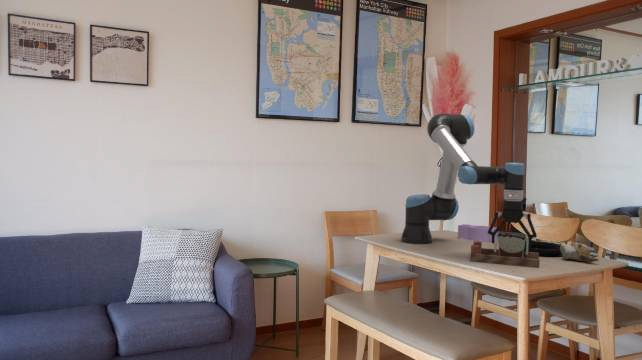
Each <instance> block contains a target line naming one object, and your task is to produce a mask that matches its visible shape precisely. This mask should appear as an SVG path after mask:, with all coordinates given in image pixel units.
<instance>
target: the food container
mask: <svg viewBox="0 0 642 360" xmlns="http://www.w3.org/2000/svg"><path fill="white" fill-rule="evenodd" d="M497 237H498V241H497V243H498V250H499V256H506V257H517V258H523V255H524V249H525V242H526V241H528V240H527V238H528V236H527V234H526V233H521V232H513V231H499V232H498V234H497Z"/></svg>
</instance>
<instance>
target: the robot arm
mask: <svg viewBox="0 0 642 360" xmlns="http://www.w3.org/2000/svg"><path fill="white" fill-rule="evenodd" d="M426 130H427V133H428V136H429V138H430V139H431V141H432V142H433V143H435V144H437V145H438V146H439V147H440V148H441V151H442V156H441V162H440V167H439V173H438V179H437V183H436V189H435V190H433V191H432V194H431V195H430V194H423V193H422V194H414V195H413V194H412V195H410V196H407V198H406V200H405V223H404V224H405V226H404V229H403V231H402V233H401V238H400V240H401V242H403V243H407V244H415V245H417V244H418V245H419V244H420V245H422V244H423V245H424V244H432V242H433V236H432V233H431V230H430V221H449V220H453V219H454V218H455V217H457V214H458V213H459V207H460V206H459V201H458V199H457V198H456V197H457V196H456V194H455V192H454V191H455V187H456V186H455V185H456V182H457V178H458V181H459V183H461V184H464V185H503V186H504V187H503V205H502V211H498V210H497V211H495V212H494V218H493V220H492V222H491V224H490V225H489V226H490V228H489V230H488V232H487V233H488V234H490V235H492V242H491V243H492V244H493V245H494V246H493V249H494V252H496V249H497V243H498V241H497V235H495V234H496V233H497V232H498V231H499V232H500V230H501V229H502V228H503V226H504V225H505V224H506V223H508V224H511V223H512V224H513V223H514V224H517V223H518V224H519V226H520V227H521V228H522V230H523V232H524V234H526V236H527V240H528V241H527V243H526V255H528V246H531V245H532V241H533V239H534V238H537V236H538V235H537V232H536V229H535V227H534V224H533V221H532V219H531V213H524V212H523V209H524V208H523V207H524V206H523V205H524V202H523V200H524V191H525V190H524V185H525V174H526V173H525V164H524V163H522V162H506V163H505V164H504V166H495V165H494V166H479V165H477V163H476V162H475V161H474V159H473V158H472V157H471V155H469V154H468V152H467V151H466V150H465V148H463V147H465V146H466V145H467V143H468V142H467V141H468V140H470V139H472V137H473V136H474V135H475V134H474V133H475V124H474V121H473V119H472V117H470V116H469V115H465V114H460V113H459V114H457V113H437V114H435V115H433V116H432V117H431V118H430V119H429V121H428V123H427V128H426ZM501 216H502V217H503V220H502V221H501V222H500V223H499V225H498V226H497V227H494V226H495V224H496V223H497V220H498V218H500V217H501ZM522 218H525V220H527V223H528V226H529V228H530V230H528V228H527V227H526V225H525V224H524V222H523V221H522ZM493 227H494V228H496V229H495V230H494V232H492V229H493ZM529 231H531V233H532V234H531V233H530V232H529Z"/></svg>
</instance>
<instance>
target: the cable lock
mask: <svg viewBox="0 0 642 360" xmlns="http://www.w3.org/2000/svg"><path fill="white" fill-rule="evenodd" d="M526 243H527V241H526V242H525V249H524V252H526ZM528 252H534V253H539V257H541V256H543V257H545V258H549V257H550V258H554V257H553V256H559V257H562V253H561V251H560V243H559V244H558V243H555V242H547V241H538V240H532V245H531V246H528ZM543 257H542V258H543Z"/></svg>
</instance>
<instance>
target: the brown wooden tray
mask: <svg viewBox="0 0 642 360" xmlns="http://www.w3.org/2000/svg"><path fill="white" fill-rule="evenodd" d="M482 245H483V242H480V241H473V244H471V246H470V255H469V256H470V259H469V261H470V262H475V263H487V264H497V265H505V266H507V265H508V266H518V267H529V268H530V267H531V268H540V256H539V253H534V252H528V255H526V252H524V255H523V258H517V257H506V256H499V248H498V249H497V248H496V252H494V248H487V247H486V248H485V247H483V248H482Z"/></svg>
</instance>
